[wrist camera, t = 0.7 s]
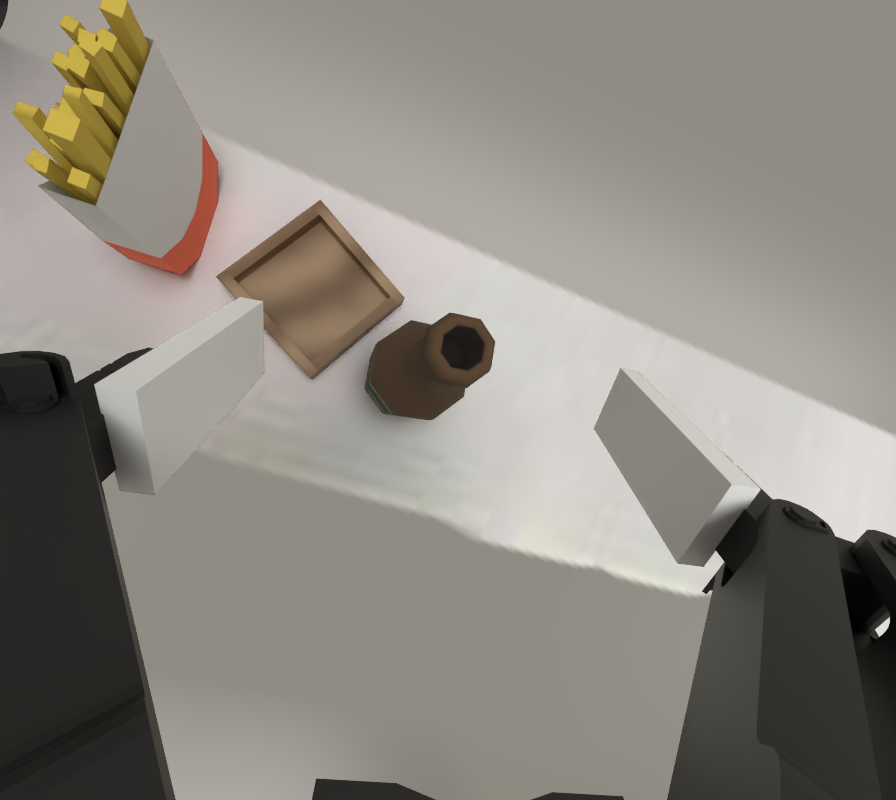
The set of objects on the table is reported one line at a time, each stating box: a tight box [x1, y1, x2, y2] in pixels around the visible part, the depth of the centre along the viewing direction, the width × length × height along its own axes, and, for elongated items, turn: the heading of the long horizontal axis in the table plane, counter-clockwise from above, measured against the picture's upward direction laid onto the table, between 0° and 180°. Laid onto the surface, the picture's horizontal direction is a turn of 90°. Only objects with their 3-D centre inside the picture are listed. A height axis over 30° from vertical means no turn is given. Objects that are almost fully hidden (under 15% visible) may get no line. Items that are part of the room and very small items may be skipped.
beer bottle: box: [365, 313, 495, 420], centre depth 31 cm, size 8×8×24 cm
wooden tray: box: [216, 200, 404, 379], centre depth 39 cm, size 12×12×2 cm
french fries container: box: [12, 0, 218, 275], centre depth 29 cm, size 5×11×18 cm, turn 164°
